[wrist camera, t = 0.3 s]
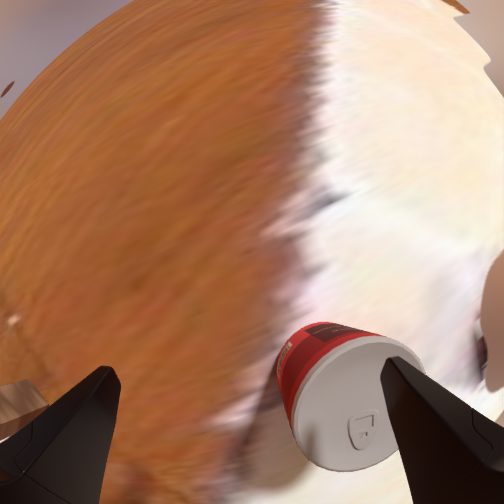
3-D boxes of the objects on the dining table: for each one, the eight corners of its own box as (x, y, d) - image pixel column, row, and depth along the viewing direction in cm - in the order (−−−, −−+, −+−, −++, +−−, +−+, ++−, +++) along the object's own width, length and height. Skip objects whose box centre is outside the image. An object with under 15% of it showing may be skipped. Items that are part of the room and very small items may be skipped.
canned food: (293, 419, 21) (318, 492, 10) (261, 341, 22) (267, 379, 11) (370, 384, 21) (437, 428, 10) (343, 306, 23) (410, 310, 12)
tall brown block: (49, 404, 21) (-12, 429, 10) (40, 421, 20) (-15, 447, 10) (28, 378, 21) (-34, 394, 11) (21, 397, 21) (-35, 415, 10)
